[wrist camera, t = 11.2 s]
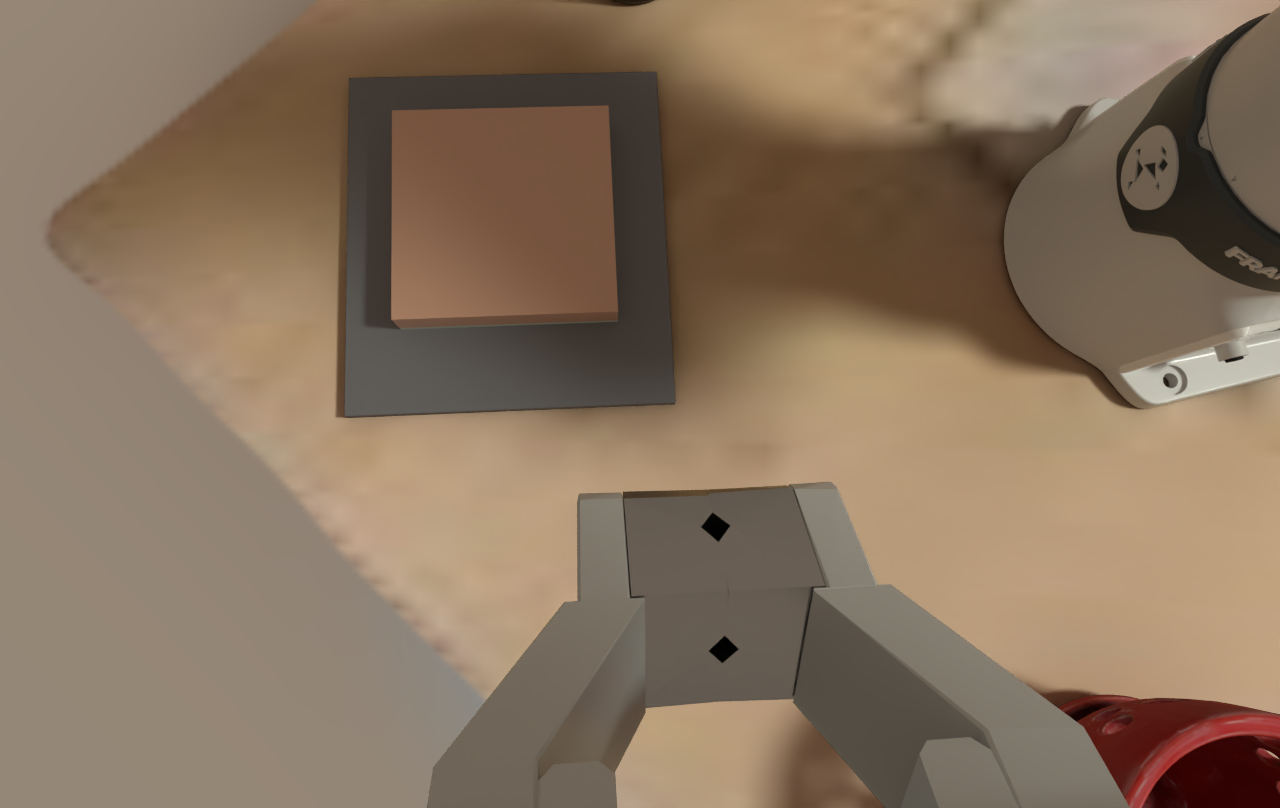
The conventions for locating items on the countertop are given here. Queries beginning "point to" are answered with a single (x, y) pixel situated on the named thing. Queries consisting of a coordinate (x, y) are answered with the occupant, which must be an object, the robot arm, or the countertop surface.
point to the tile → (502, 217)
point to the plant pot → (1184, 750)
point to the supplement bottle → (634, 1)
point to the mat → (522, 354)
